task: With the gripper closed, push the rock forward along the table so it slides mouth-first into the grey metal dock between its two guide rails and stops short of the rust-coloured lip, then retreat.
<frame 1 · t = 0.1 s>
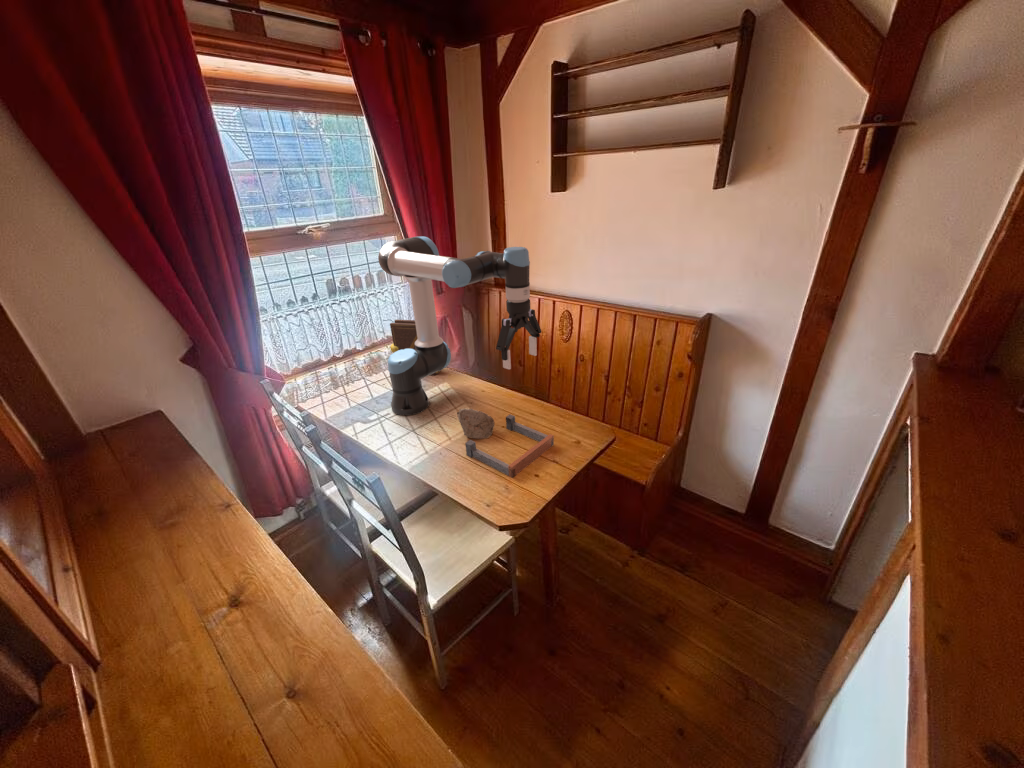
hand: (520, 361, 142), 28 cm above the table, fingers open, 13 cm apart
book: (417, 372, 205), on the table
rock: (475, 433, 155), on the table
dock: (511, 449, 145), on the table
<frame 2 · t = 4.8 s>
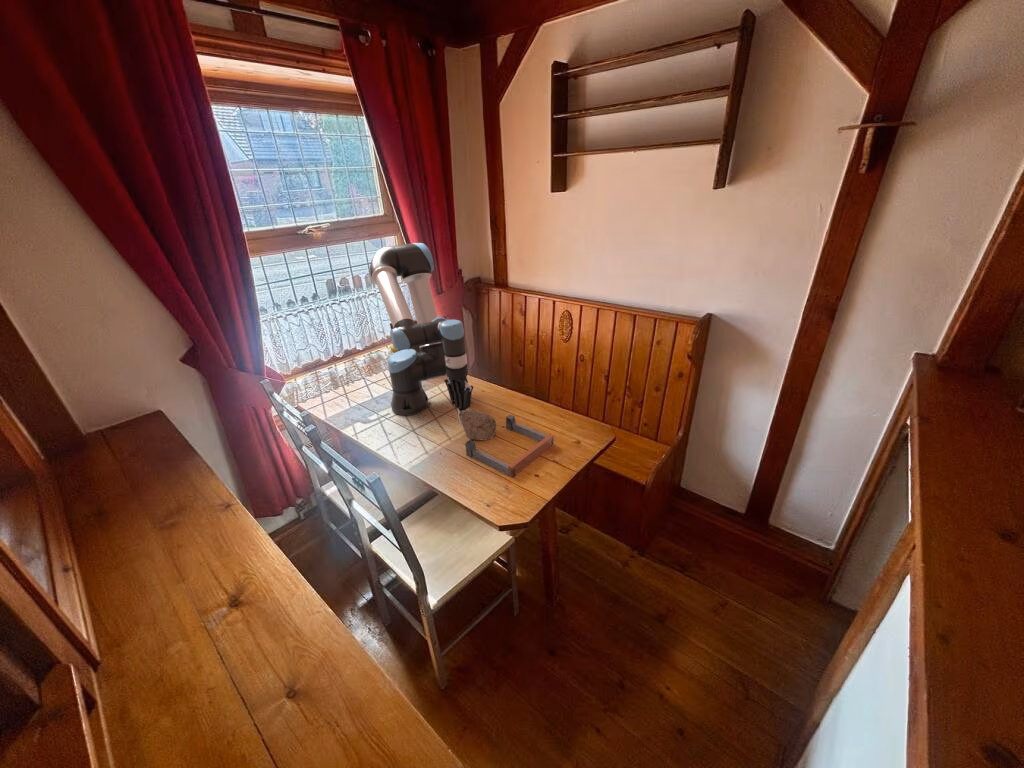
hand: (463, 422, 157), 2 cm above the table, fingers closed
rock: (478, 435, 154), on the table, touching gripper
everything else where it was.
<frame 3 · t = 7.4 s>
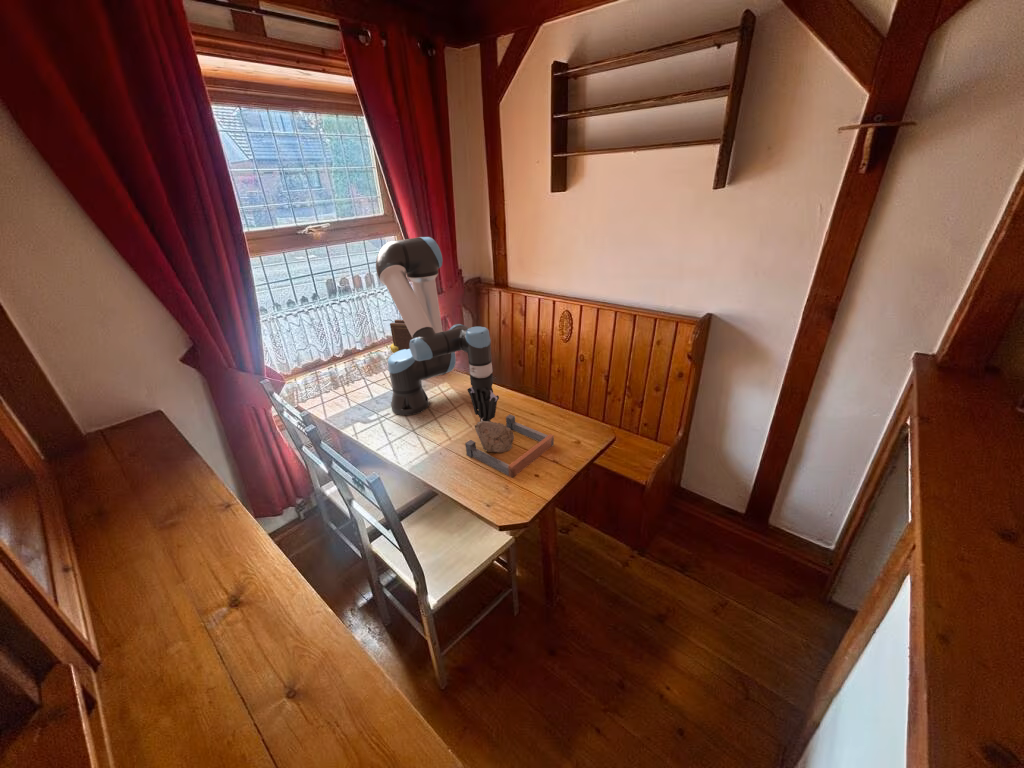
hand: (486, 433, 151), 2 cm above the table, fingers closed
rock: (494, 446, 147), on the table, touching gripper
everything else where it was.
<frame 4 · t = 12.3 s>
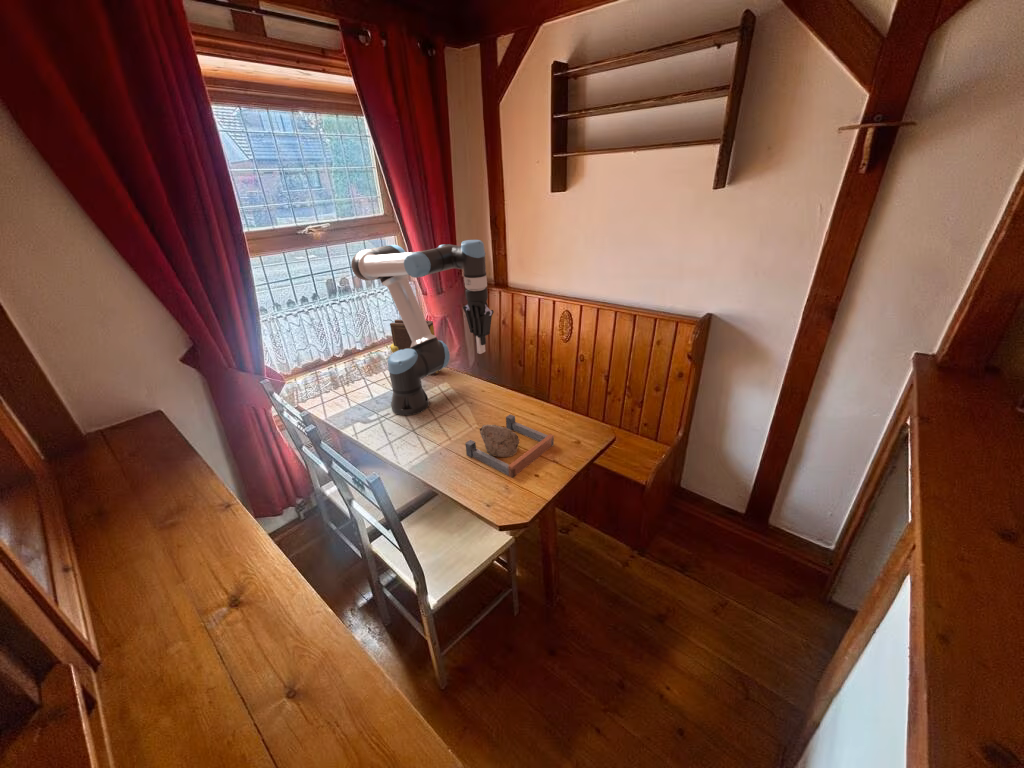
hand: (481, 352, 154), 26 cm above the table, fingers closed
rock: (499, 451, 145), on the table
everything else where it was.
at the end: rock inside the target area on the dock (3.7 cm from its centre), point 0.0 cm above the dock's base; rock moved 14.3 cm from its start; the gripper is holding nothing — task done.
